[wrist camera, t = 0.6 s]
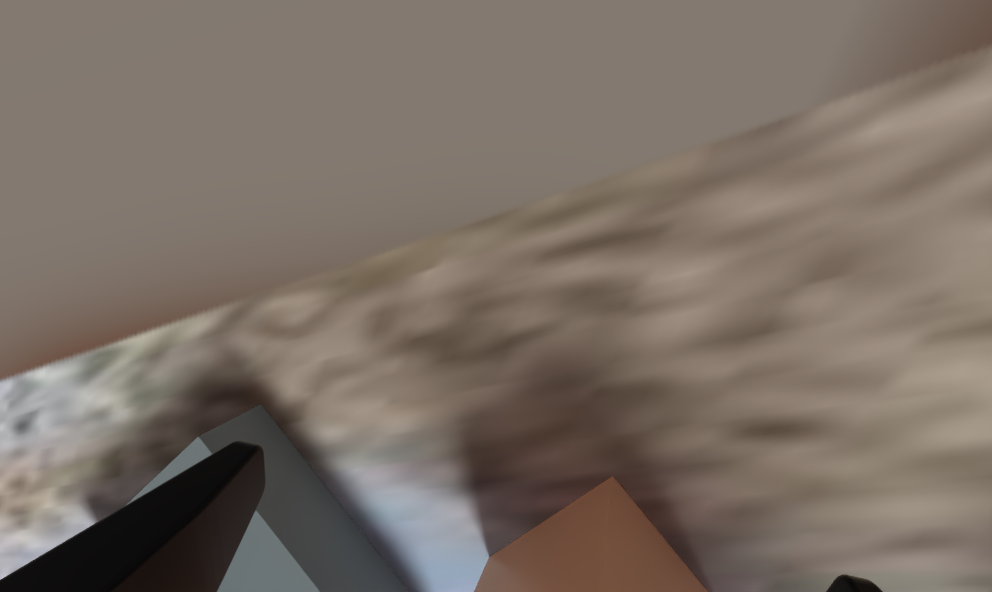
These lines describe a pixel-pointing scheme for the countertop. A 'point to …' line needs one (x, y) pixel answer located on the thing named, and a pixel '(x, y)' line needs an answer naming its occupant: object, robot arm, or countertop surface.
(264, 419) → the large crate
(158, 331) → the countertop surface
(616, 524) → the small crate
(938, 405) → the countertop surface
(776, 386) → the countertop surface
